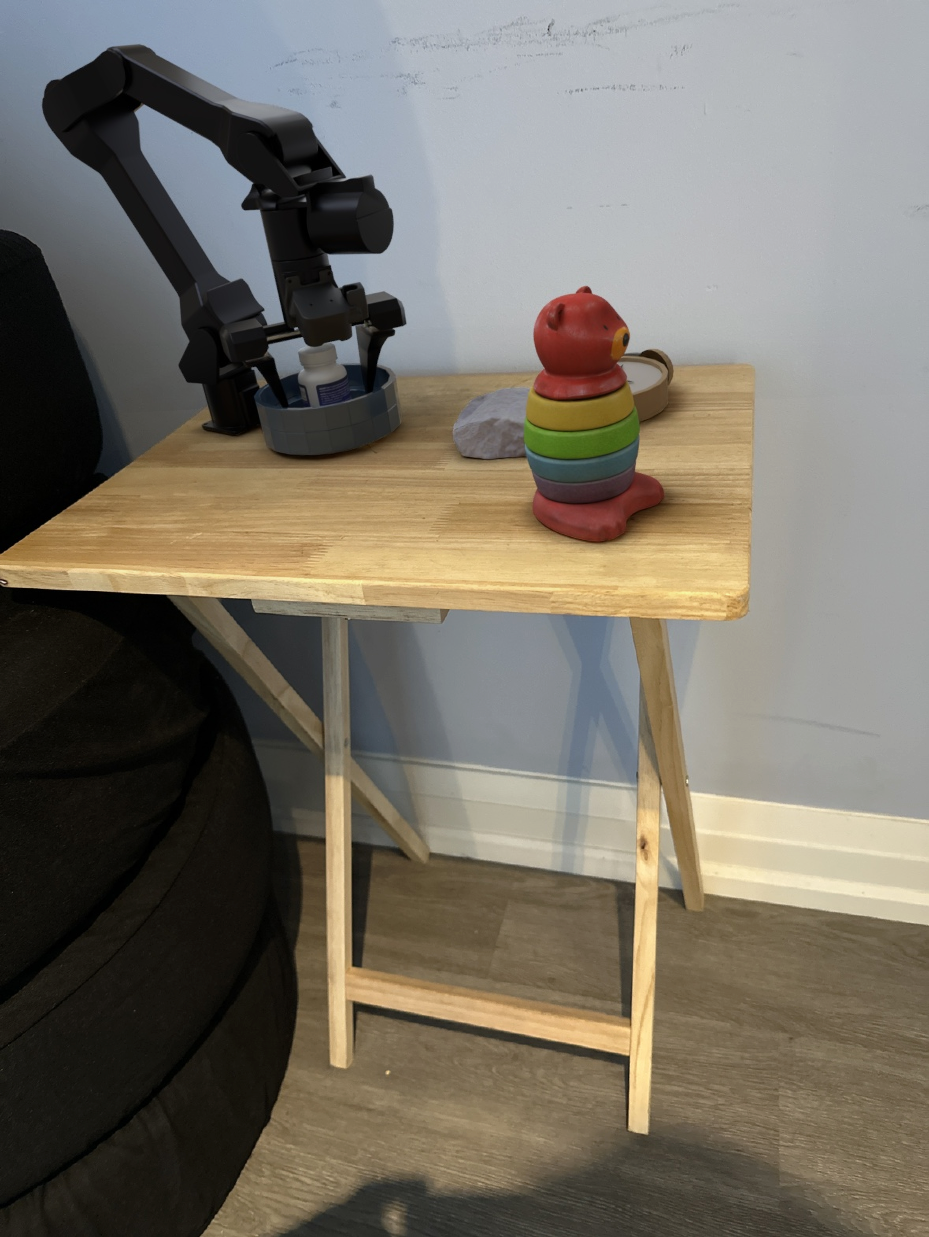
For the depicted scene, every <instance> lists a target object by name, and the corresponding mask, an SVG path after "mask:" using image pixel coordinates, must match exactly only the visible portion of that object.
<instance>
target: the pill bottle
mask: <svg viewBox="0 0 929 1237" xmlns="http://www.w3.org/2000/svg"><path fill="white" fill-rule="evenodd" d="M337 353H338V352H337V348H336V345H335V344H334V343H333V342H328V343H324V344H323V345H322V346H319V347H310V346H308V345H305V346H303V347H301V348H300V349H298V351H297V355H298V359H299V360H298V361H299V363H300V365H301V366H302V367H303V369H301V370H299V371H300V373H299V375H298V382H299V387H300V391H301V396H302V400H303V405H304V408H307V407H316V406H325V405H330V404H335V403H340V402H345V401H348V400H351V399H352V398H351V393H350V387H349V382H348V377H347V372H346V369H345V367H344V366H343V365H341V364H342V363H339V362H337V361H338V354H337Z"/></svg>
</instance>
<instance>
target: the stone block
mask: <svg viewBox="0 0 929 1237" xmlns="http://www.w3.org/2000/svg"><path fill="white" fill-rule="evenodd" d="M530 389H531V387H525V386H518V387H517V386H516V387H515V386H513V387H503V388H500V389H496V390H495V391H492V392H486V393H484V394H482V395H477V396H475V397H474V398H472V399H470V400H469V401H468V404H467V405H465V407H463V408H462V410H461V411H460V413H459V415H458V417H457V419H456V422H455V423H454V424H453V427H452V439H453V443H454V445H455V447H456V449H457V451H458V452H459V453H460V454H461V455H462V456H463V457H469V458H476V459H481V460H493V459H503V458H520V457H527V456H526V452H525V442H524V422H525V417H526V406H527V399H528V394H529V391H530Z"/></svg>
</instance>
